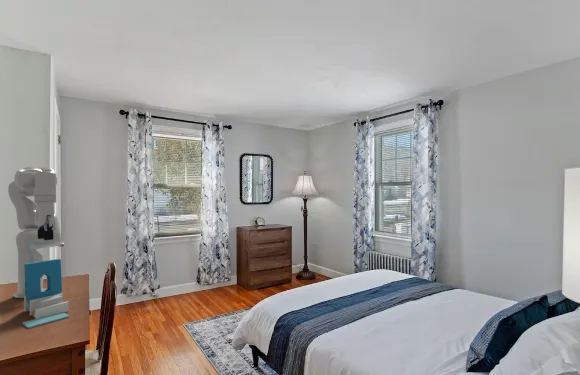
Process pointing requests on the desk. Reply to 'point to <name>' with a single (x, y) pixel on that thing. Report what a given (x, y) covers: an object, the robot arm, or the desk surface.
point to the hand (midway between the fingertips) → (45, 239)
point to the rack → (45, 308)
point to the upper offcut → (48, 301)
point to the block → (36, 272)
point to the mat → (45, 320)
